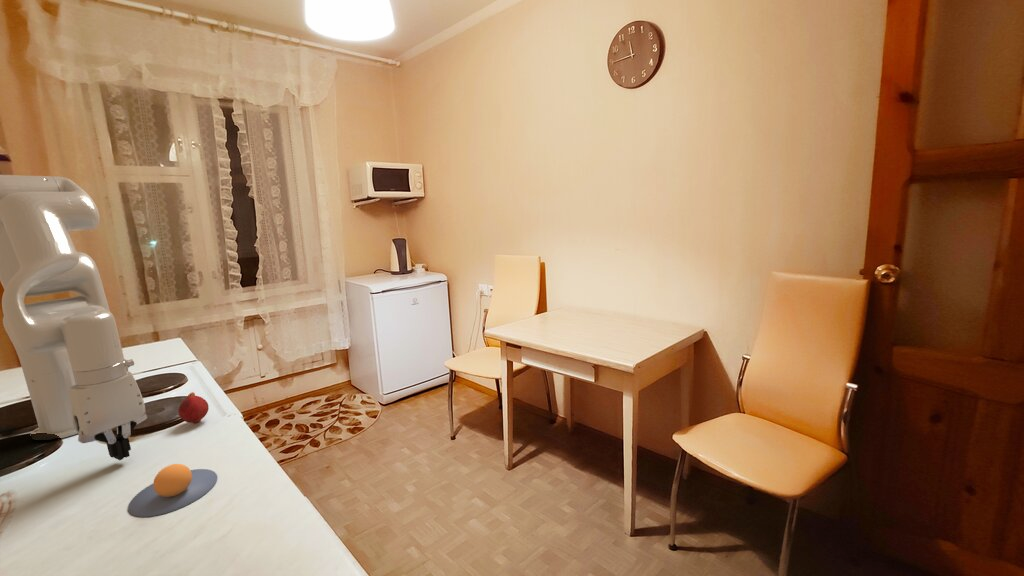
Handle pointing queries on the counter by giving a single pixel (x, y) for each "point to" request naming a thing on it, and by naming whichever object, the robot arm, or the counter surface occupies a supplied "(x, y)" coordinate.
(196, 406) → the onion
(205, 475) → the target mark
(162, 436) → the counter surface
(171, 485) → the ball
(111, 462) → the counter surface
